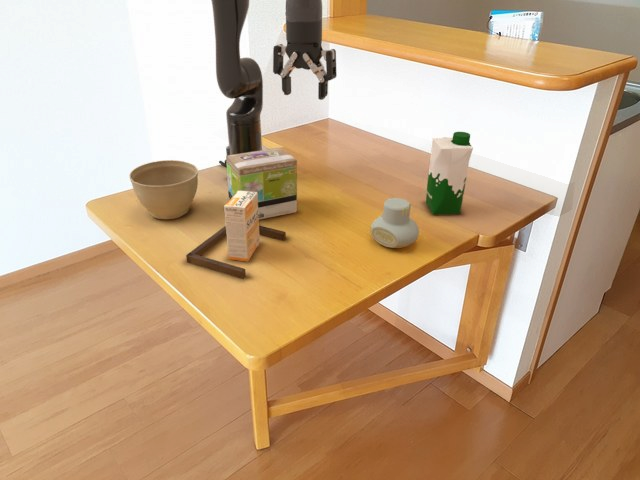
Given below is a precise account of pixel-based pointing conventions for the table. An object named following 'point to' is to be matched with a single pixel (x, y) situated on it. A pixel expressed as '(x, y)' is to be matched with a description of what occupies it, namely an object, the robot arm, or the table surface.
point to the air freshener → (395, 225)
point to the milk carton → (448, 173)
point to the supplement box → (242, 225)
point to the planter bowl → (165, 187)
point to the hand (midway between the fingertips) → (304, 96)
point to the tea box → (265, 179)
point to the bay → (199, 260)
